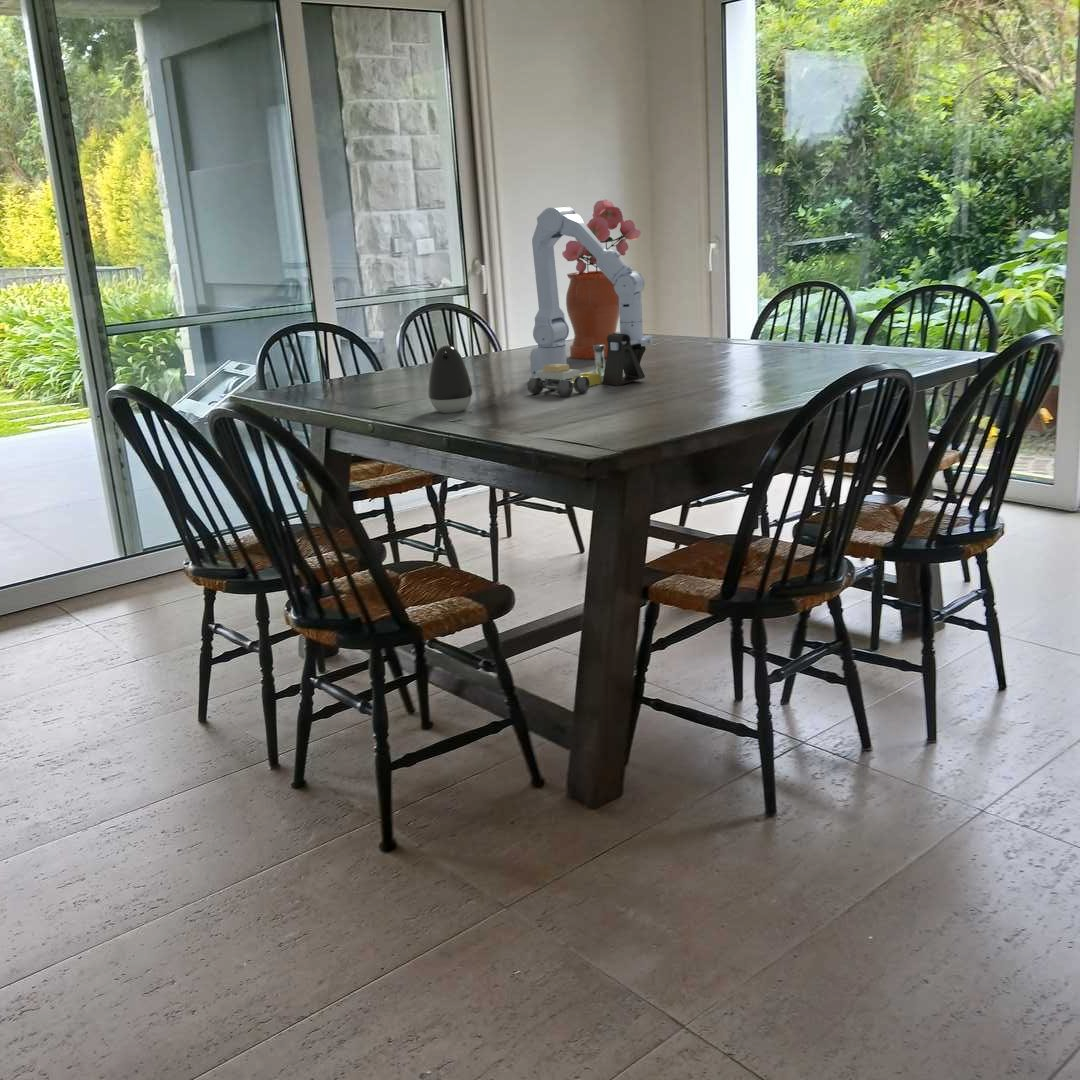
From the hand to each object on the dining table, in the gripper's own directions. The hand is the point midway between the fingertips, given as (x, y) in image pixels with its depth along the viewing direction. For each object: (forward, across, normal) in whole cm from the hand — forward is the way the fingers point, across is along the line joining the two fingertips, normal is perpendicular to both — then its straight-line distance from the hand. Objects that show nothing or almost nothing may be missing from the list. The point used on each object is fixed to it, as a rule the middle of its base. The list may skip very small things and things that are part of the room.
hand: (633, 375), depth 286 cm
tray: (+1, -3, +8) cm, 9 cm away
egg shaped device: (+2, -52, +12) cm, 53 cm away
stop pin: (+1, -4, +8) cm, 9 cm away
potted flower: (+2, +35, +41) cm, 54 cm away
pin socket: (+1, -10, +8) cm, 12 cm away
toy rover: (+1, -23, +5) cm, 23 cm away
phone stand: (+1, -4, 0) cm, 4 cm away
